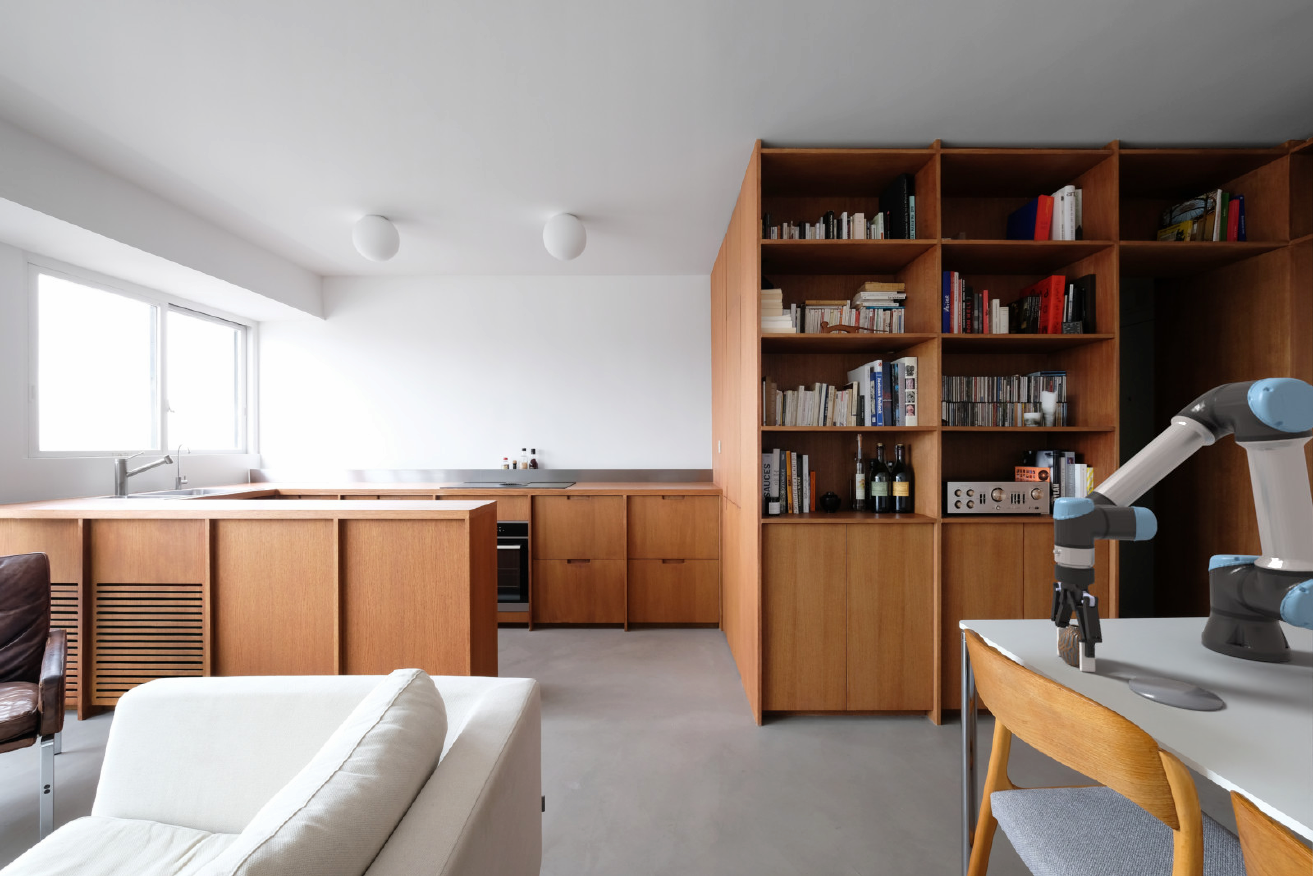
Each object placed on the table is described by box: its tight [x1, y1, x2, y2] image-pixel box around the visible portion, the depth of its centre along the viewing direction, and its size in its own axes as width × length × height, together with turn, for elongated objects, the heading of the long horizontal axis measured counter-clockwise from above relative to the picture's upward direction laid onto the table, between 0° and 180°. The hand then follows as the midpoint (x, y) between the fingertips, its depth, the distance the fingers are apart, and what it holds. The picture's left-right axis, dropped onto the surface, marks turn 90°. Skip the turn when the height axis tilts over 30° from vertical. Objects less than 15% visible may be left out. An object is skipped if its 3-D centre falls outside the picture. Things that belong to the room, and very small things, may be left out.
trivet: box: [1128, 676, 1223, 712], centre depth 115 cm, size 14×14×1 cm
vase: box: [1058, 623, 1082, 668], centre depth 132 cm, size 7×7×9 cm
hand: (1075, 662), depth 132 cm, fingers open, 9 cm apart
